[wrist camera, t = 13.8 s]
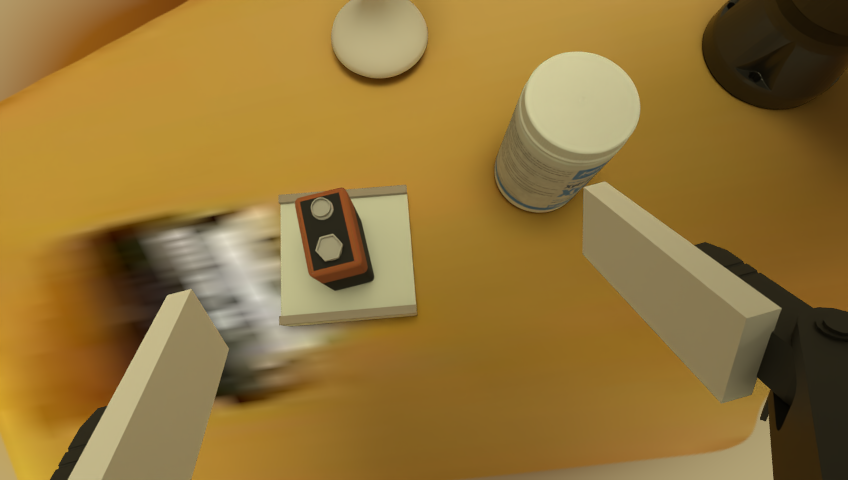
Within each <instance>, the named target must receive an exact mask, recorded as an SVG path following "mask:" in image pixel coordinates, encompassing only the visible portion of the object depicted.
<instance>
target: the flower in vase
mask: <svg viewBox="0 0 848 480" xmlns="http://www.w3.org/2000/svg"><path fill="white" fill-rule="evenodd" d="M331 42H332V47H333V50H334V52H335V55H336V56H337V58H338V59H339V60H340V62H341V63H342V64H343V65H344V66H345V67H346V68H348V69H349V70H351V71H353V72H355V73H357V74H359V75H362V76H365V77H369V78H389V77H393V76H396V75H399V74H401V73H403V72H405V71H407V70H408V69H410V68H411V67H412V66H414V65H415V64H416V63H417V62H418V61H419V59H420V58H421V57H422V55H423V53H424V51H425V49H426V46H427V42H428V29H427V25H426V22H425V20H424V18H423V16H422V14H421V13H420V11H419V10H418V8H417V7H416V6H415V5H414V4H413V3H411V2H410V1H409V0H351V1H349V2H348V3H347V4H346V5H345V6H344V7H343V8H342V9H341V10H340V11H339V13H338V14H337V16H336V18H335V21H334V23H333V28H332V33H331Z"/></svg>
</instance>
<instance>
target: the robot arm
mask: <svg viewBox="0 0 848 480" xmlns="http://www.w3.org/2000/svg"><path fill="white" fill-rule="evenodd" d="M703 52H704V57H705V60H706V63H707V65H708V67H709V69H710V71H711V73H712V74H713V76H714V77H715V78H716V80H717V81H718V82H719V83H720V84H721V85H722V86H723V87H724V88H725V89H726V90H727V91H729V92H730V93H731V94H733V95H734V96H736V97H737V98H739V99H741V100H743V101H745V102H747V103H750V104H752V105H755V106H759V107H763V108H769V109H788V108H793V107H797V106H800V105H803V104H805V103H807V102H809V101H810V100H812V99H814V98H815V97H817V96H818V95H820V94H822V93H823V92H825V91H826V90H827V89H829V88H830V87H831V86H832V85H833V84H834V83H835V82H836V81H837V80H838V79H839V77H840V76H841V75H842V73H843V72H844V71H845V70H846V69H847V68H848V0H729V1H728V2H726V3H725V4H724V5H723V7H722V8H721V9H720V10H719V11H718V12H717V13H716V14H715V15H714V17H713V18H712V19H711V20H710V22H709V23H708V25H707V27H706V30H705V33H704V37H703ZM583 255H584V256H585V257H586V258H587V259H588V260H589V261H590V262H591V264H592V265H593V266H594V267H595V268H596V269H597V270H598V271H599V272H600V273H601V274H602V275H603V276H604V278H605V279H606V280H607V281H608V282H609V283H610V284H611V285H612V286H613V287H614V288H615V289H616V290H617V292H618V293H619V294H620V295H621V296H622V297H623V298H624V299H625V300H626V301H627V302H628V303H629V304H630V306H631V307H632V308H633V309H634V310H635V311H636V312H637V313H638V314H639V315H640V316H641V317H642V318H643V320H644V321H645V322H646V323H647V324H648V325H649V326H650V327H651V328H652V329H653V330H654V331H655V332H656V334H657V335H658V336H659V337H660V338H661V339H662V340H663V341H664V342H665V343H666V344H667V345H668V346H669V348H670V349H671V350H672V351H673V352H674V353H675V354H676V355H677V356H678V357H679V358H680V359H681V360H682V362H683V363H684V364H685V365H686V366H687V367H688V368H689V369H690V370H691V371H692V372H693V373H694V374H695V376H696V377H697V378H698V379H699V380H700V381H701V382H702V383H703V384H704V385H705V386H706V387H707V388H708V390H709V391H710V392H711V393H712V394H713V395H714V396H715V397H716V398H717V399H718V400H719V401H720V403H725V402H728V401H732V400H735V399H738V398H742V397H745V396H749V395H752V392H753V389H754V386H755V383H756V380H757V377H758V378H759V379H760V380H761V381H762V382H763V383H764V384H765V385H766V386H767V387H769V388H770V389H771V390H770V392H769V395H768V397H767V400H766V403H765V405H764V408H763V411H762V414H761V417H760V420H763V421H766V419H767V417H768V415H769V424H770V437H771V451H772V464H773V477H774V480H848V312H846V311H842V310H838V309H834V308H821V307H818V308H812V307H811V306H809V305H808V304H806V303H805V302H803V301H802V300H800V299H799V298H797V297H796V296H794V295H793V294H791V293H790V292H788V291H787V290H785V289H784V288H782V287H781V286H779V285H778V284H776V283H775V282H773V281H772V280H770V279H769V278H767V277H766V276H764V275H763V274H761V273H757V270H755V269H754V268H753V267H751V266H750V265H748V264H744V263H743V261H742V260H741V259H739V258H738V257H736V256H735V255H733V254H732V253H730V252H729V251H727V250H725V249H722V248H720V247H717V246H714V245H711V244H709V243H706V242H704V243H701V244H697V245H693V244H692V243H690V242H689V241H687V240H686V239H685V238H683V237H682V236H680V235H679V234H678V233H676V232H675V231H673V230H672V229H671V228H669V227H668V226H666V225H665V224H664V223H662V222H661V221H660V220H658V219H657V218H655V217H654V216H653V215H651V214H650V213H648V212H647V211H646V210H644V209H643V208H641V207H640V206H639V205H637V204H636V203H635V202H633V201H632V200H630V199H629V198H628V197H626V196H625V195H623V194H622V193H621V192H619V191H618V190H616V189H615V188H614V187H612V186H611V185H610V184H608V183H607V182H601V183H597V184H594V185H590V186H586V187H584V194H583ZM228 351H229V348H228V347H227V345H226V344H225V342H224V340H223V339H222V337H221V335H220V334H219V332H218V331H217V329H216V327H215V326H214V324H213V323H212V321H211V319H210V318H209V316H208V315H207V313H206V311H205V310H204V308H203V307H202V305H201V303H200V302H199V300H198V299H197V297H196V295H195V294H194V292H193V291H192V289H189V290H186V291H182V292H178V293H174V294H170V295H167V297H166V299H165V301H164V302H163V304H162V306H161V308H160V310H159V312H158V314H157V315H156V317H155V319H154V321H153V323H152V325H151V327H150V328H149V330H148V332H147V334H146V336H145V338H144V339H143V341H142V343H141V345H140V347H139V349H138V351H137V352H136V354H135V356H134V358H133V360H132V362H131V364H130V365H129V367H128V369H127V371H126V373H125V375H124V376H123V378H122V380H121V382H120V384H119V386H118V388H117V389H116V391H115V393H114V395H113V397H112V399H111V401H110V402H109V404H108V406H105V407H101V408H98V409H97V410H96V411H95V412H94V413H93V414H92V415H91V416H90V418H89V419H88V420H87V421H86V422H85V423H84V424H83V425H82V426H81V427H80V429H79V430H78V432H77V434H76V436H75V437H74V439H73V441H72V442H71V444H70V446H69V448H68V450H69V451H68V452H66V453H65V455H64V456H63V458H62V460H61V462H60V463H59V465H58V466H59V469H57V470H55V472H54V474H53V475H52V477H51V479H50V480H191V478H192V475H193V471H194V468H195V464H196V461H197V457H198V454H199V450H200V447H201V444H202V440H203V437H204V433H205V430H206V426H207V423H208V419H209V416H210V413H211V409H212V406H213V402H214V399H215V395H216V392H217V388H218V385H219V382H220V378H221V375H222V371H223V368H224V364H225V361H226V357H227V354H228Z"/></svg>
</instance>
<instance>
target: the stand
mask: <svg viewBox="0 0 848 480" xmlns="http://www.w3.org/2000/svg"><path fill="white" fill-rule="evenodd" d="M346 191H347V193H348V195H349V197H350V199H351V201H352V203H353V205H354V207H355V209H356V211H357V213H358V215H359V217H360V219H361V222H362V226H363V230H364V234H365V238H366V243H367V247H368V251H369V255H370V260H371V264H372V268H373V272H374V279H373V281H371V282H368V283H364V284H360V285H356V286H352V287H348V288H345V289H341V290H337V291H334V290H332V289H331V288H329V287H327V286H326V285H324V284H322V283H321V282H319V281H317V280H316V279H314V278H312V277H311V276H310V275H309V273H308V268H307V264H306V258H305V253H304V248H303V243H302V238H301V233H300V228H299V223H298V218H297V213H296V208H295V201H296V199H297V198H300V197H304V196H308V195H312V194H316V193H321V192H311V193H298V194H286V195H279V203H280V204H281V316H279V325H284V326H301V325H312V324H324V323H335V322H347V321H358V320H370V319H381V318H392V317H404V316H415V315H417V308H416V296H415V284H414V271H413V259H412V247H411V235H410V222H409V210H408V198H407V188H406V185H398V186H385V187H373V188H360V189H348V190H346ZM323 192H325V191H323Z"/></svg>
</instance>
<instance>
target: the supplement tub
mask: <svg viewBox="0 0 848 480" xmlns="http://www.w3.org/2000/svg"><path fill="white" fill-rule="evenodd" d="M639 116H640V100H639V95H638V92H637V89H636V87H635V85H634V83H633V82H632V80H631V78H630V77H629V76H628V75H627V74H626V72H625V71H624V70H623V69H621V68H620V67H619V66H618V65H617V64H615V63H614V62H612V61H610V60H609V59H607V58H604V57H602V56H600V55H597V54H593V53H588V52H566V53H562V54H558V55H555V56H553V57H551V58H549V59H547V60H546V61H544V62H543V63H541V64H540V65H539V66H538V67H537V68H536V69H535V70H534V72H533V73H532V75H531V76H530V78H529V80H528V82H527V83H526V85H525V86H524V88H523V90H522V93H521V95H520V98H519V100H518V103H517V105H516V108H515V110H514V113H513V116H512V118H511V121H510V124H509V126H508V129H507V131H506V134H505V136H504V139H503V142H502V144H501V147H500V149H499V152H498V155H497V157H496V161H495V179H496V183H497V185H498V188H499V189H500V191H501V193H502V194H503V196H504V197H505V198H506V199H507V200H508V201H509V202H511V203H512V204H513V205H515V206H517V207H518V208H520V209H523V210H526V211H530V212H537V213H539V212H549V211H553V210H556V209H558V208H560V207H562V206H563V205H565V204H566V203H567V202H569V201H570V200H571V199H572V198H573V197H574V196H575V195H576V194H577V193H578V192H579V191H580V190H581V189H582V188H583V187H584V186H585V185H586V184H587V183H588V182H589V181H590V180H591V179H592V178H593V177H594V176H595V175H596V174H597V173H598V172H599V171H600V170H601V169H602V167H603V166H604V165H605V164H606V163H607V162H608V161H609V160H610V159H611V158H612V157H613V156H614V155H615V154H616V153H617V152H618V151H619V150H620V149H621V148H622V147H623V145H624V144H625V143H626V141H627V140H628V138H629V137H630V135H631V134H632V133H633V131H634V129H635V128H636V126H637V123H638V120H639Z"/></svg>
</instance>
